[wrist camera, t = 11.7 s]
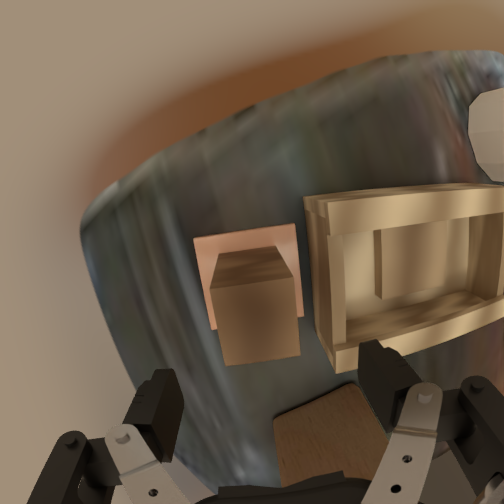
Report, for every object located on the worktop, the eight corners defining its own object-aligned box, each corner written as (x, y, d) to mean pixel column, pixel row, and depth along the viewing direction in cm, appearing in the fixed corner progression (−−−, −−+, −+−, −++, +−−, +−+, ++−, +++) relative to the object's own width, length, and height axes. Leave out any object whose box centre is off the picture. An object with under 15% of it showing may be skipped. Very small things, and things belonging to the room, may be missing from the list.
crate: (467, 182, 24) (514, 187, 17) (465, 292, 26) (504, 316, 20) (302, 196, 23) (327, 202, 17) (314, 330, 26) (336, 373, 19)
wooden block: (268, 416, 28) (291, 586, 9) (353, 376, 28) (436, 534, 8) (302, 457, 31) (332, 589, 11) (375, 424, 30) (436, 548, 11)
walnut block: (275, 245, 24) (293, 277, 16) (282, 303, 25) (300, 355, 17) (218, 253, 23) (209, 289, 16) (228, 311, 25) (225, 366, 17)
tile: (293, 222, 24) (294, 223, 23) (302, 313, 26) (304, 316, 25) (194, 237, 24) (193, 238, 23) (212, 326, 26) (211, 329, 25)
